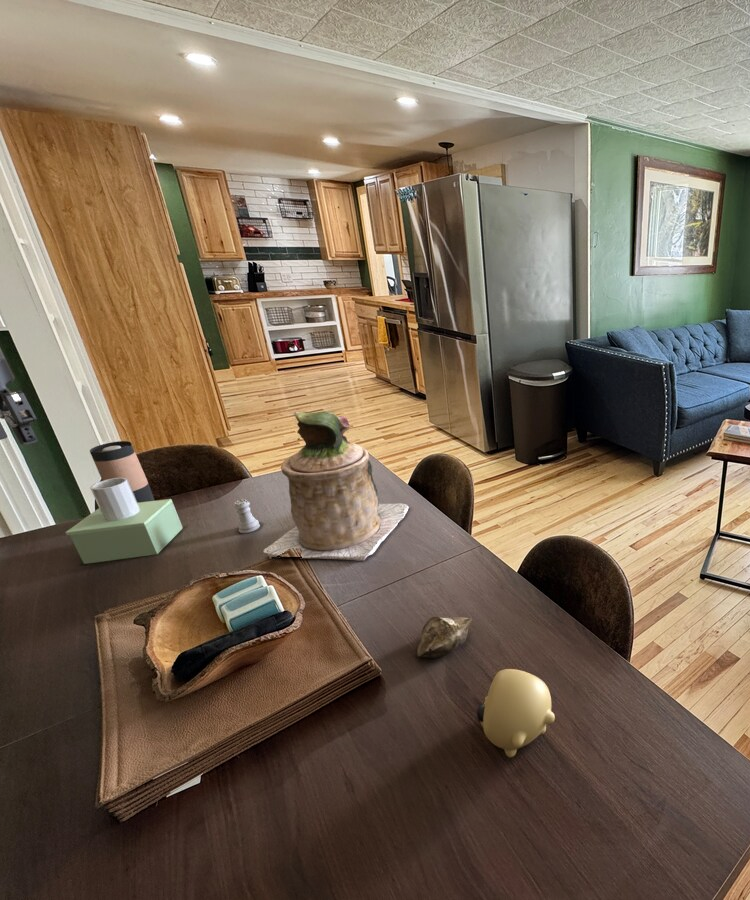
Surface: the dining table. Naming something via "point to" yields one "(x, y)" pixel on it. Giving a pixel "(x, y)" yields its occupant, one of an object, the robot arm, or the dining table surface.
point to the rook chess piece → (246, 517)
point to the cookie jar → (333, 495)
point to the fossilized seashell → (442, 636)
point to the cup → (115, 499)
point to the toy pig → (515, 710)
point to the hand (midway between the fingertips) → (14, 441)
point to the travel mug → (122, 467)
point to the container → (129, 539)
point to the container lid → (142, 518)
